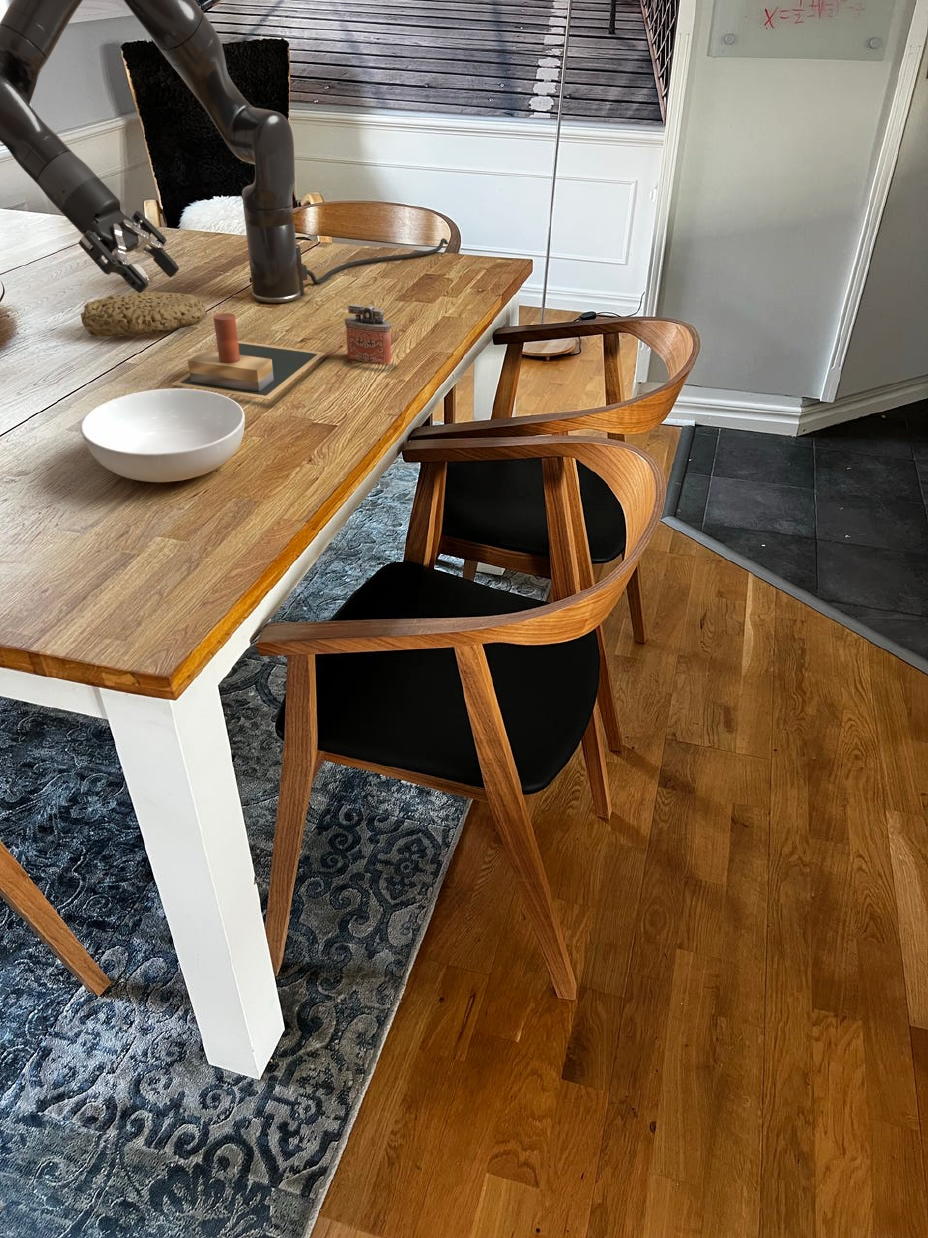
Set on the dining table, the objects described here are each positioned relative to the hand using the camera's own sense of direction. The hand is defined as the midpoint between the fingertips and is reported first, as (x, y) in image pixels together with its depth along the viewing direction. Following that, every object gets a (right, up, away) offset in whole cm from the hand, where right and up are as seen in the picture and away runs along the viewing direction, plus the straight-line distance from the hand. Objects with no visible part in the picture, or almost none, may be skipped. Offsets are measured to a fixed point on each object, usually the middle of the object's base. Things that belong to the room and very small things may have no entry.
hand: (160, 280), depth 145 cm
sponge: (-11, 0, +27) cm, 29 cm away
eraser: (+10, -14, +6) cm, 18 cm away
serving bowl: (+6, -31, -15) cm, 35 cm away
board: (+11, -11, +11) cm, 20 cm away
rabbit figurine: (-22, +17, +50) cm, 57 cm away
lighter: (+30, -9, +16) cm, 35 cm away
